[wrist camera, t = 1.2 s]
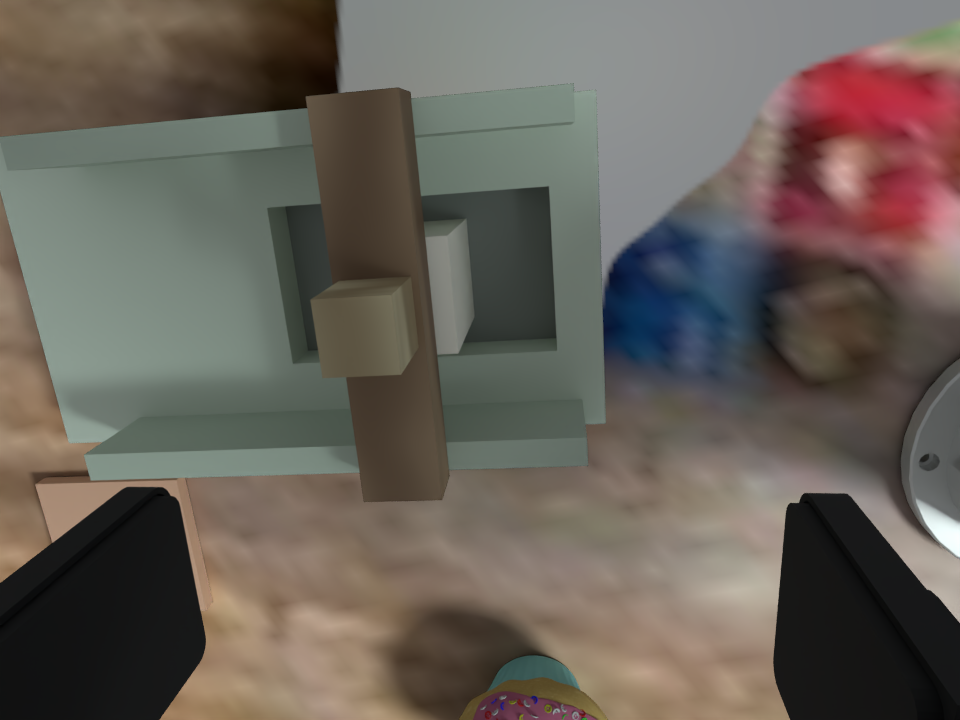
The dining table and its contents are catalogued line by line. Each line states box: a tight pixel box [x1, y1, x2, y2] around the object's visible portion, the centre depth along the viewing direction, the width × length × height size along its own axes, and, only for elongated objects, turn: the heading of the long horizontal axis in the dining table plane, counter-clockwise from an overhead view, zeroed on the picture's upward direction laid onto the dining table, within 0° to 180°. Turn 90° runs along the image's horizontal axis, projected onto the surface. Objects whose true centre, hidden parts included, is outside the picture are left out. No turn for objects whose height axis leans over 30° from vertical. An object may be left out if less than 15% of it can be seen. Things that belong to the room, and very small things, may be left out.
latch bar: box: [306, 88, 450, 502], centre depth 23 cm, size 3×14×5 cm, turn 5°
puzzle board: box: [0, 84, 606, 481], centre depth 30 cm, size 26×14×7 cm, turn 94°
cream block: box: [424, 219, 475, 355], centre depth 29 cm, size 4×4×6 cm
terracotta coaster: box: [35, 476, 213, 611], centre depth 38 cm, size 8×8×1 cm
